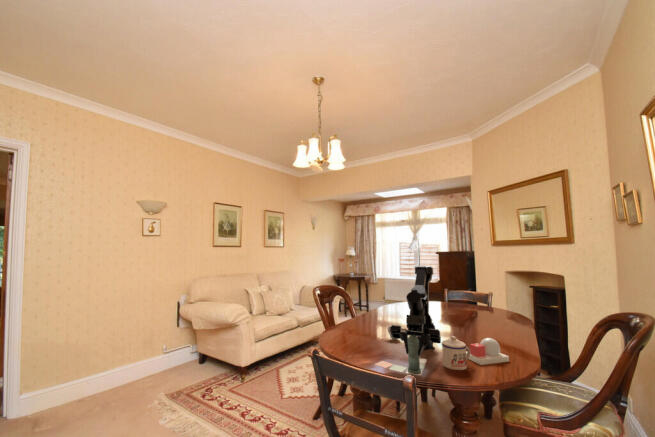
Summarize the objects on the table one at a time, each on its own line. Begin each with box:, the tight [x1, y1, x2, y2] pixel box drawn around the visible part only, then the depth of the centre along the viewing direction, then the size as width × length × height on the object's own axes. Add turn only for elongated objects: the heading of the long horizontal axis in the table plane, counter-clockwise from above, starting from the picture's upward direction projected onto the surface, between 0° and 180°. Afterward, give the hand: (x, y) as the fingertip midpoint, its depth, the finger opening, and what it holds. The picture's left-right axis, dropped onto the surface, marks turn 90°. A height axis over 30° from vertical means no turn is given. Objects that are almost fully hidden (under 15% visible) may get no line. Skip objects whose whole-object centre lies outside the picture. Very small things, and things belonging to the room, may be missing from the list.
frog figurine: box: [386, 324, 398, 341], centre depth 155 cm, size 6×7×7 cm
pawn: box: [407, 335, 422, 375], centre depth 113 cm, size 5×5×13 cm
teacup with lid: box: [441, 335, 470, 371], centre depth 119 cm, size 12×9×12 cm
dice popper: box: [466, 337, 510, 366], centre depth 127 cm, size 14×10×8 cm
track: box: [374, 357, 428, 377], centre depth 117 cm, size 23×17×1 cm
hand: (413, 354), depth 112 cm, fingers open, 4 cm apart
